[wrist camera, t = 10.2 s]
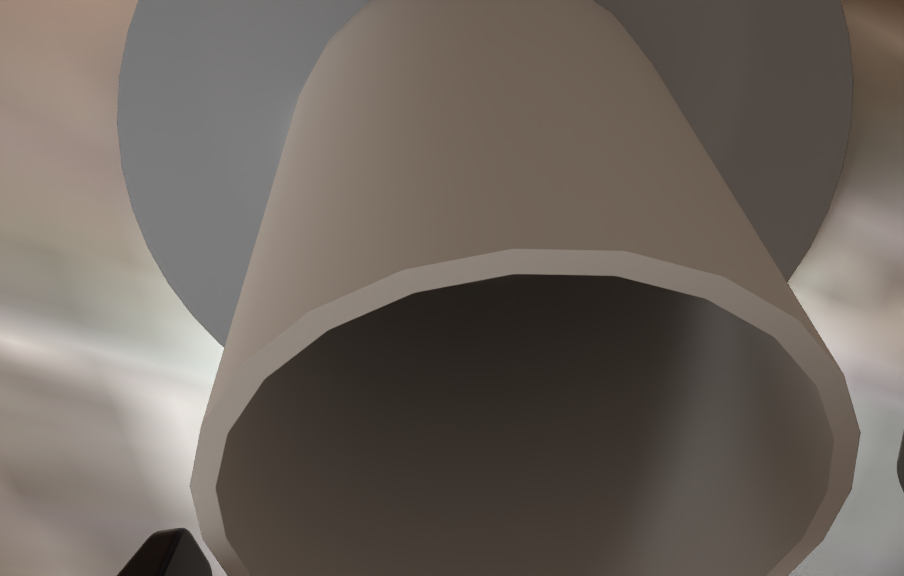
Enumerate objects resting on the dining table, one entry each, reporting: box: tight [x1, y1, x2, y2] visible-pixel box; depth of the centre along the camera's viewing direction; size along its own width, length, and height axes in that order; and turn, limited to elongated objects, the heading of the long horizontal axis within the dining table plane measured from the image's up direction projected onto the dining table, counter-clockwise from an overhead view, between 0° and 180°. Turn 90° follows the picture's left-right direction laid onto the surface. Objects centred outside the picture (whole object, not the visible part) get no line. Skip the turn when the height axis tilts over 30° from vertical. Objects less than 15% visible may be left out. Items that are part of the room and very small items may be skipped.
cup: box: [190, 0, 860, 576], centre depth 13 cm, size 7×10×9 cm
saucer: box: [117, 0, 853, 347], centre depth 17 cm, size 15×15×1 cm
